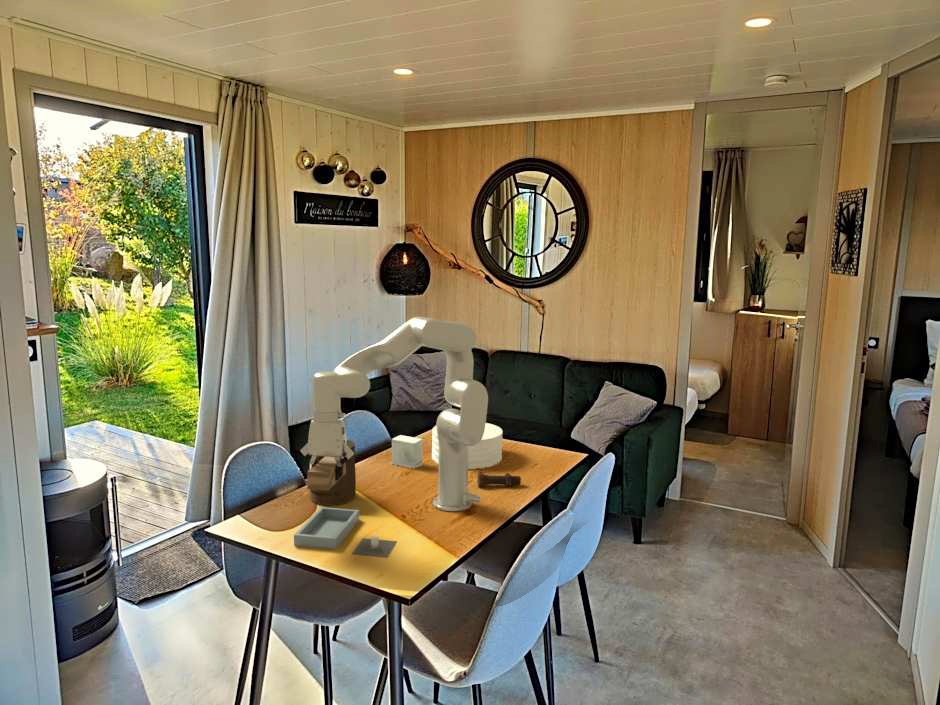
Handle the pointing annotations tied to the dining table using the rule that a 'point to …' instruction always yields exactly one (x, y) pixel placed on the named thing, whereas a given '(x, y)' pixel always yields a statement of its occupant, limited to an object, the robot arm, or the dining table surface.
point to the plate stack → (478, 448)
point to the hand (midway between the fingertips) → (327, 477)
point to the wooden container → (338, 484)
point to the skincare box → (407, 451)
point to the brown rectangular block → (323, 474)
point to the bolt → (498, 480)
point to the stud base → (376, 552)
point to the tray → (326, 528)
